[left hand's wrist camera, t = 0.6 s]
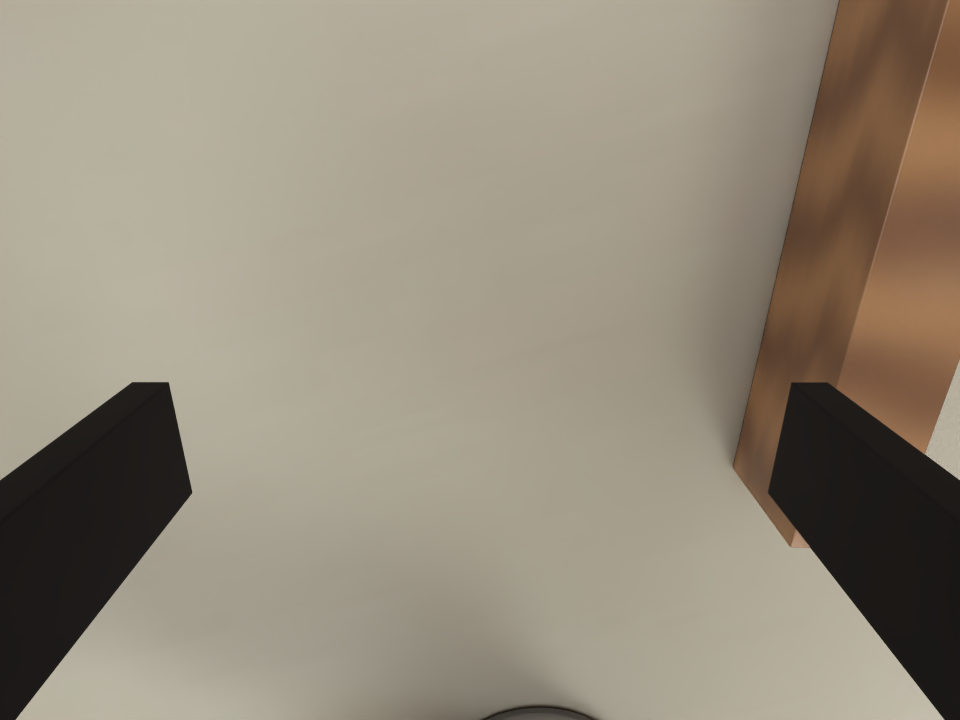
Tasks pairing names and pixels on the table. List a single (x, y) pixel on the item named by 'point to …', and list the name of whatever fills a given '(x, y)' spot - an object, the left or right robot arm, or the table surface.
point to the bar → (869, 237)
